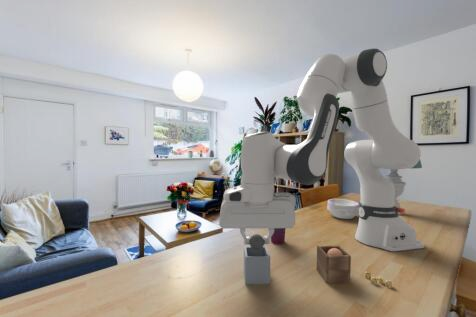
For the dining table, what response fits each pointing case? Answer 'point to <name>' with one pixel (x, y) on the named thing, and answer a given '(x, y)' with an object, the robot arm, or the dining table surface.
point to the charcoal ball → (256, 242)
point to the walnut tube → (333, 265)
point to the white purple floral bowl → (343, 208)
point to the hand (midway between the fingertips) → (256, 243)
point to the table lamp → (399, 183)
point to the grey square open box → (256, 265)
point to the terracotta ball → (334, 252)
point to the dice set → (380, 280)
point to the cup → (278, 236)
